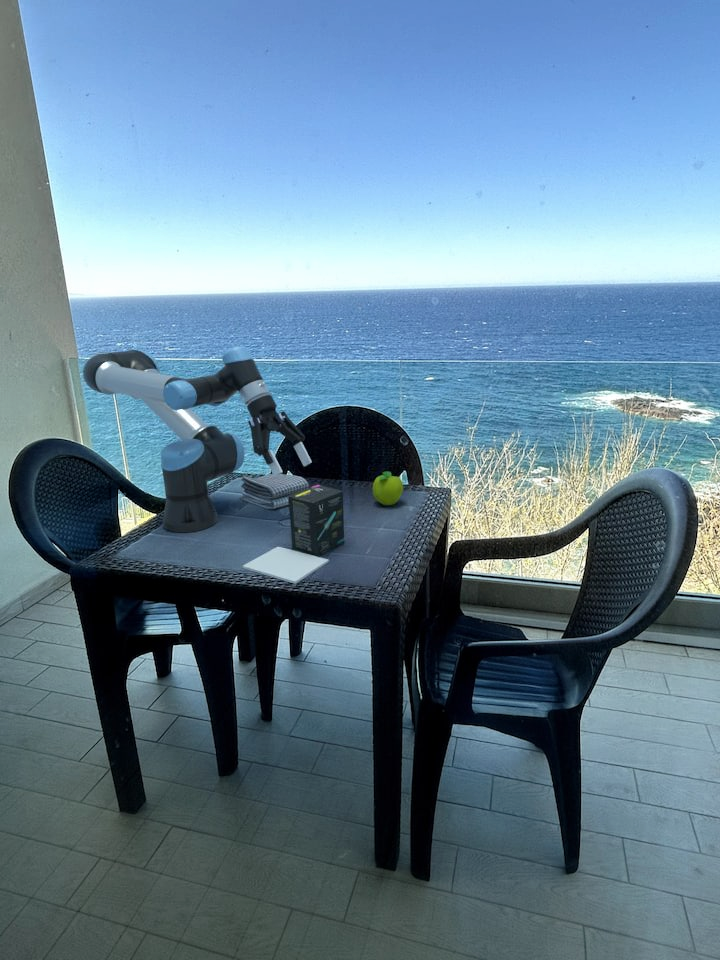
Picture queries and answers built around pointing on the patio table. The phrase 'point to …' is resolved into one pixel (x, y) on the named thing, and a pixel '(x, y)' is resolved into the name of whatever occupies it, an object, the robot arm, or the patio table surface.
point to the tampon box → (316, 519)
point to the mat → (286, 564)
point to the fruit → (387, 488)
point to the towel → (272, 489)
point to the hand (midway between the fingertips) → (293, 469)
